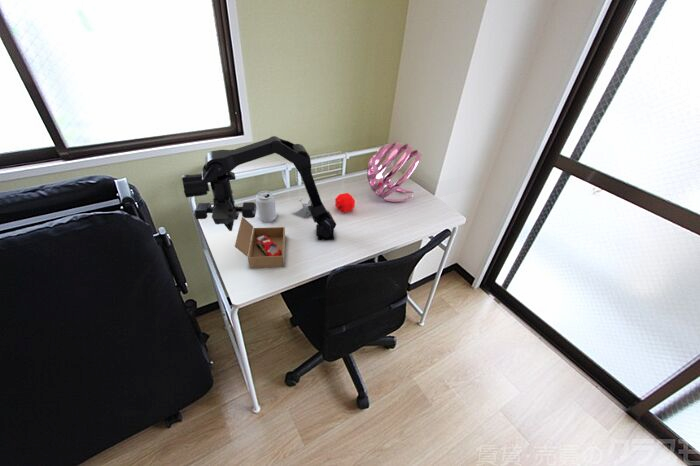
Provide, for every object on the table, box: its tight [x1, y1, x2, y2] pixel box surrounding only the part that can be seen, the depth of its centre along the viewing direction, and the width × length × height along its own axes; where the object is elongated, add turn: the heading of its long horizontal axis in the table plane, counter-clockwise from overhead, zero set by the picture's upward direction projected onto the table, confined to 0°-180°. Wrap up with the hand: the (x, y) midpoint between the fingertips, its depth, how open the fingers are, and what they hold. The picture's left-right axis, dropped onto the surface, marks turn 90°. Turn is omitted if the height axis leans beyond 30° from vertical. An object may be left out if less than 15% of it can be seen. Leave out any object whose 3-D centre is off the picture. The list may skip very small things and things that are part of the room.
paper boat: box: [294, 198, 311, 218], centre depth 134 cm, size 12×6×9 cm
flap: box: [234, 216, 254, 257], centre depth 109 cm, size 17×6×1 cm
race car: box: [256, 235, 282, 256], centre depth 113 cm, size 13×5×4 cm, turn 39°
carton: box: [247, 226, 286, 269], centre depth 113 cm, size 17×12×5 cm
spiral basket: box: [366, 141, 422, 203], centre depth 145 cm, size 28×28×27 cm
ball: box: [334, 192, 356, 214], centre depth 137 cm, size 8×8×8 cm
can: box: [255, 190, 277, 223], centre depth 127 cm, size 8×8×12 cm
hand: (230, 230), depth 106 cm, fingers closed
